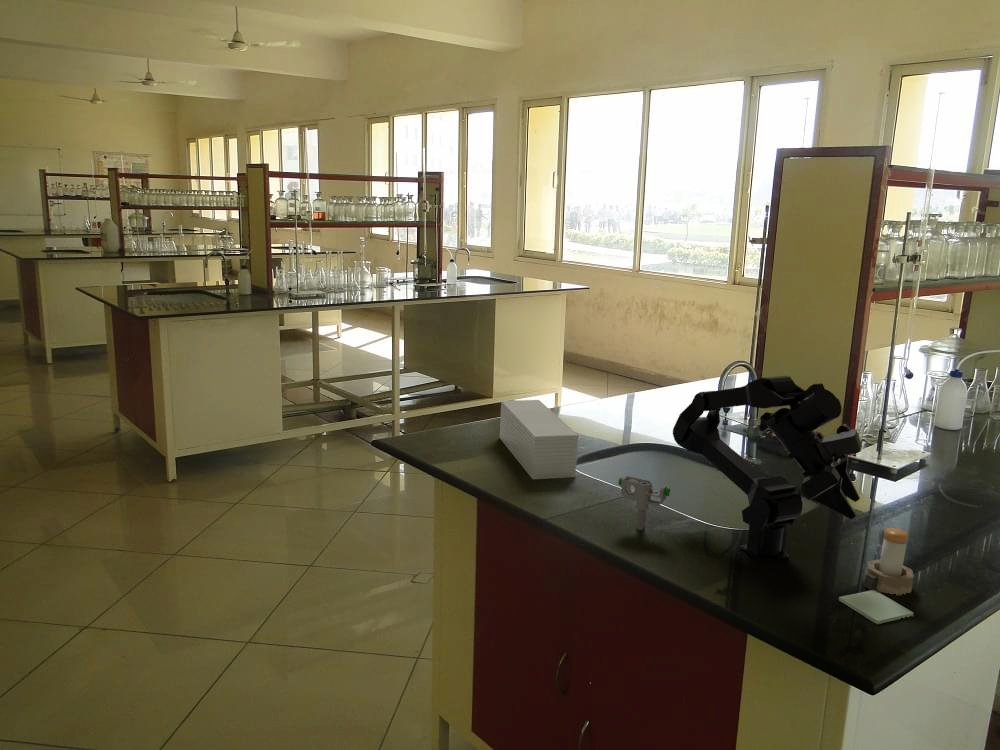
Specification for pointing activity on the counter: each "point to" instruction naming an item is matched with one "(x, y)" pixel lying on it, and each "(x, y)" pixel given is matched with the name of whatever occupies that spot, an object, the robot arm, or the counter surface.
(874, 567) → the beige hollow ring
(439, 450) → the counter surface
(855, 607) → the mat
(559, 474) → the stack of papers
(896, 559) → the bottle with orange cap
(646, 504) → the mechanical component
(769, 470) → the counter surface
